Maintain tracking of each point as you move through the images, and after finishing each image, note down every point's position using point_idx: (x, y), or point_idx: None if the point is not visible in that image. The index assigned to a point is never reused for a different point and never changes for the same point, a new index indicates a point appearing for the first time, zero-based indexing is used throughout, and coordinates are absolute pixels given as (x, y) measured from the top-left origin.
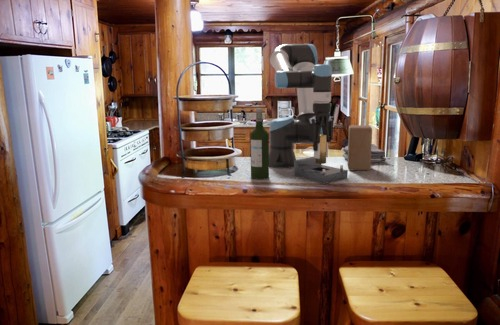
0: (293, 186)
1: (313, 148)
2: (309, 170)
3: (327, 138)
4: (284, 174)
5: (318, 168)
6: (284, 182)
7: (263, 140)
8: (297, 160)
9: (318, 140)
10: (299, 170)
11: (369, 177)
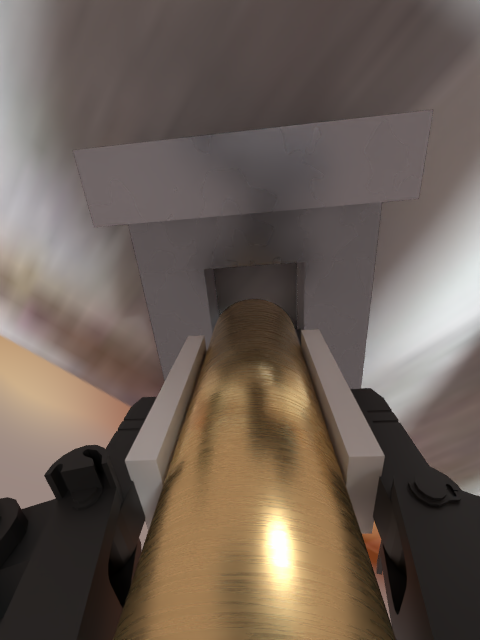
0: (36, 348)
1: (126, 419)
2: (171, 296)
3: (391, 613)
4: (97, 77)
5: (285, 261)
6: (19, 267)
7: None
8: (98, 179)
9: (126, 591)
10: (132, 226)
11: (434, 430)
